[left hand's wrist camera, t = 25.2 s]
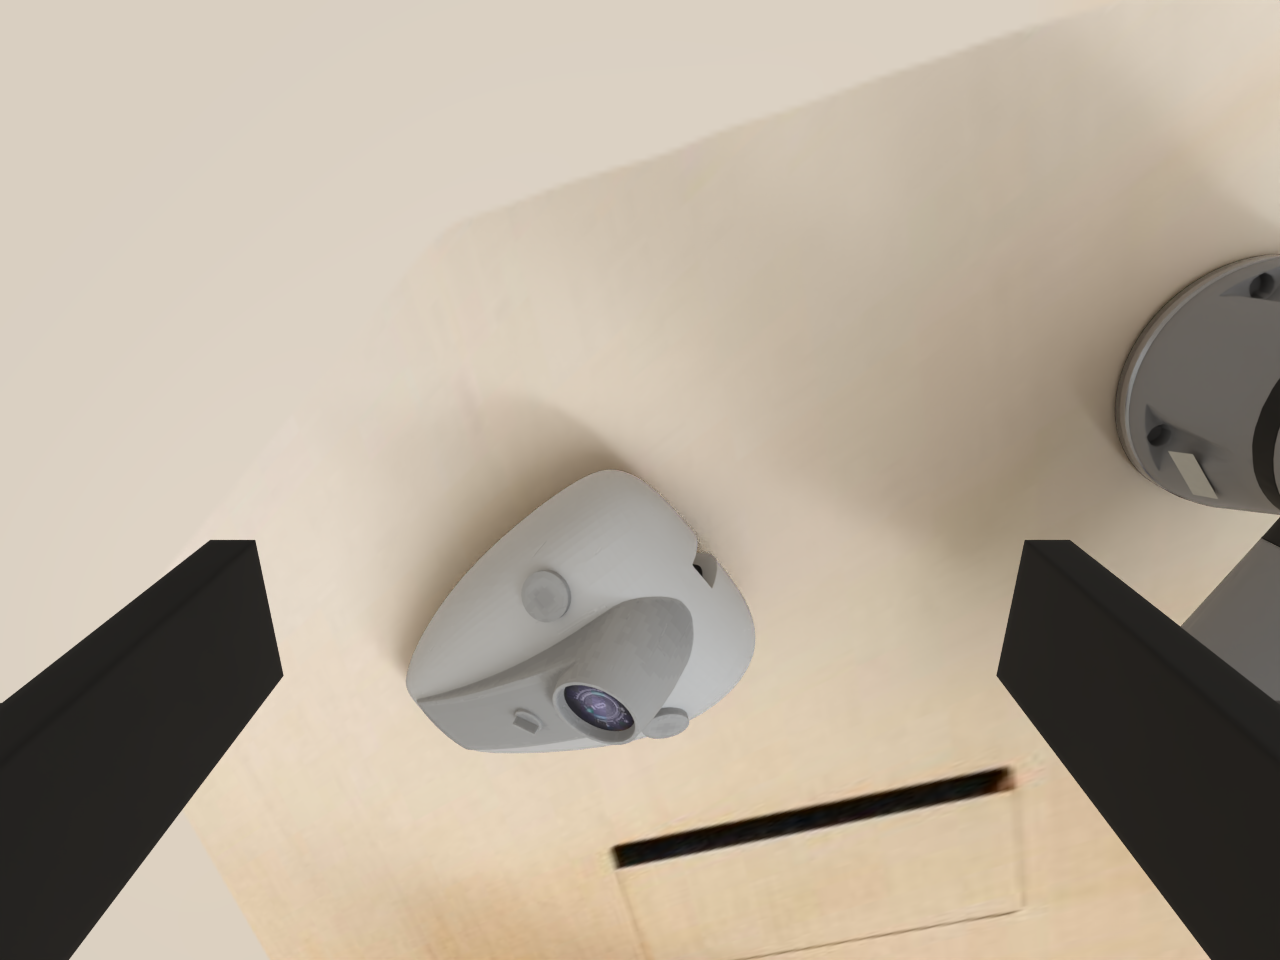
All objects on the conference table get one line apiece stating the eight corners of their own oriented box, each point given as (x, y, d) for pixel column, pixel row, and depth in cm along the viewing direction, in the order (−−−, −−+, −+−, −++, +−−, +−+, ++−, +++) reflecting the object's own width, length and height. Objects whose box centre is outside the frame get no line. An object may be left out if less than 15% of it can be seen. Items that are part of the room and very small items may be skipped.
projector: (407, 435, 46) (309, 533, 32) (765, 461, 47) (818, 568, 33) (419, 719, 54) (344, 895, 40) (725, 738, 55) (754, 917, 41)
